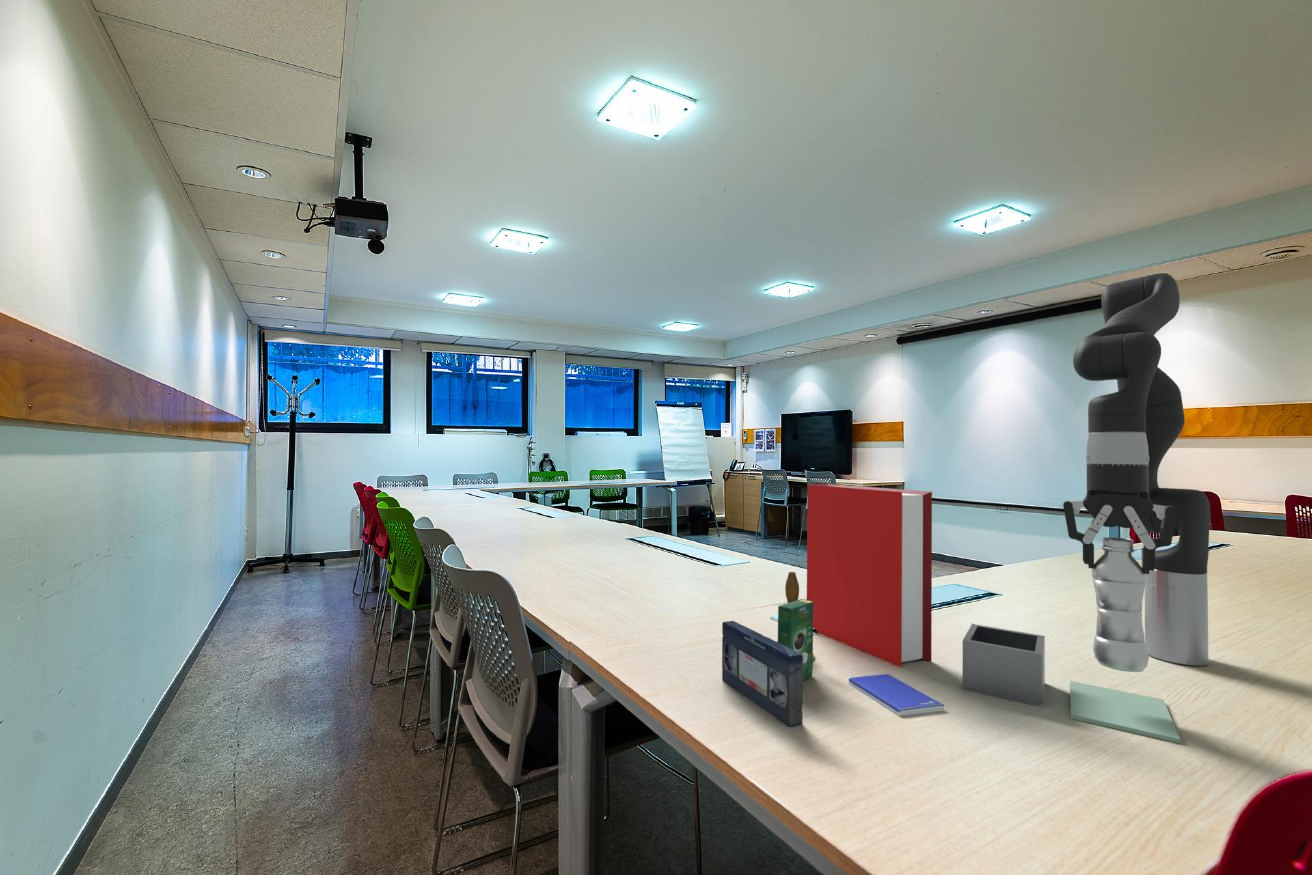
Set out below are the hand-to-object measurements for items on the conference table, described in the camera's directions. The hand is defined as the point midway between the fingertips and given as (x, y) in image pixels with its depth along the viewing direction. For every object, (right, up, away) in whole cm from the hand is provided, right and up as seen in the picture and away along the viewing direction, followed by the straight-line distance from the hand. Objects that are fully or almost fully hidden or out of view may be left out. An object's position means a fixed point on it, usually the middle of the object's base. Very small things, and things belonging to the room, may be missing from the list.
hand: (1117, 569), depth 88 cm
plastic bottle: (0, -15, -1) cm, 15 cm away
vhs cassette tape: (-56, -21, 0) cm, 59 cm away
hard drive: (-33, -22, +3) cm, 40 cm away
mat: (0, -21, -1) cm, 21 cm away
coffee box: (-48, -21, +9) cm, 53 cm away
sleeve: (-13, -21, +8) cm, 26 cm away
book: (-29, -22, +30) cm, 47 cm away
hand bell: (-45, -21, +21) cm, 54 cm away
